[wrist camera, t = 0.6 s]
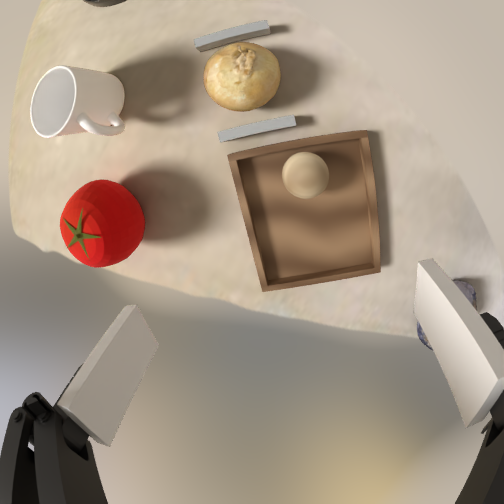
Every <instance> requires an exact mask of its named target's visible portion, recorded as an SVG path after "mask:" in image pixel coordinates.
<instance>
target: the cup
mask: <svg viewBox="0 0 504 504" xmlns="http://www.w3.org/2000/svg"><path fill="white" fill-rule="evenodd" d="M124 98H125V94H124V88H123V85H122V83H121V82H120V80H119V79H118V78H117V77H116V76H114V75H112V74H109V73H105V72H100V71H94V70H89V69H83V68H77V67H70V66H63V65H60V66H56V67H54V68H52V69H50V70H49V71H47V72H46V73H45V74H44V75H43V77H42V78H41V79H40V81H39V82H38V84H37V86H36V88H35V90H34V93H33V96H32V101H31V109H30V113H31V121H32V124H33V127H34V129H35V131H36V132H37V133H38V134H39V135H40V136H42V137H45V138H50V137H56V136H62V135H69V134H76V133H84V132H91V133H93V134H97V135H105V136H113V135H118V134H121V133H122V132H123V131H124V129H125V124H124V122H123V121H122V119H121V118H120V117H119V114H120V113H121V110H122V108H123V104H124ZM111 124H112V125H114V126H110V125H111Z"/></svg>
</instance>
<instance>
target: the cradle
mask: <svg viewBox="0 0 504 504" xmlns="http://www.w3.org/2000/svg"><path fill="white" fill-rule="evenodd" d="M267 34H270V28H269V25H268V22H267V20H264V21H259V22H254V23H250V24H245V25H241V26H237V27H233V28H229V29H226V30H222V31H219V32H215V33H212V34H209V35H205V36H202V37H199V38H196V39H194V43H195V47H196V48H197V49H198V50H199V51H200V52H202V51H205V50H208V49H211V48H215V47H218V46H222V45H225V44H229V43H232V42H236V41H240V40H244V39H249V38H253V37H258V36H262V35H267ZM292 126H296V122H295V117H294V115H290V116H285V117H279V118H274V119H270V120H265V121H260V122H256V123H251V124H247V125H243V126H239V127H235V128H231V129H227V130H223V131H220V132H217V133H218V136H219V140H220V142H225V141H228V140H232V139H236V138H240V137H245V136H249V135H253V134H258V133H262V132H267V131H272V130H277V129H282V128H287V127H292Z"/></svg>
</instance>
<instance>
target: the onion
mask: <svg viewBox="0 0 504 504" xmlns="http://www.w3.org/2000/svg"><path fill="white" fill-rule="evenodd" d="M280 79H281V73H280V68H279V63H278V60H277V58H276V57H275V56H274V55H273V54H272V53H271V52H270V51H269V50H267V49H266V48H264V47H262V46H260V45H257V44H254V43H249V42H239V43H233V44H230V45H228V46H225V47H223V48H222V49H220V50H218V51H217V52H216V53H214V54H213V55H212V56H211V58H210V59H209V60H208V62H207V64H206V66H205V70H204V85H205V88H206V91H207V93H208V94H209V96H210V97H211V98H212V99H213V100H214V101H215V102H216V103H217V104H218V105H220V106H222V107H224V108H226V109H229V110H233V111H250V110H253V109H256V108H258V107H261V106H263V105H264V104H266V103H267V102H268V101H269V100H270V99H271V98H272V97H273V96H274V95H275V94H276V92H277V89H278V86H279V83H280Z"/></svg>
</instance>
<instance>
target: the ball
mask: <svg viewBox="0 0 504 504" xmlns="http://www.w3.org/2000/svg"><path fill="white" fill-rule="evenodd" d="M282 180H283V183H284V185H285V187H286V189H287V190H288V191H289V192H290V193H291V194H293V195H294V196H296V197H299V198H303V199H309V198H314V197H316V196H318V195H320V194H321V193H322V192H323V191H324V190H325V188H326V187H327V185H328V181H329V170H328V167H327V165H326V163H325V162H324V161H323V159H322V158H320V157H319V156H318V155H316V154H314V153H310V152H300V153H296V154H294V155H292V156H291V157H290V158H289V159H288V160H287V161H286V162H285V164H284V166H283V169H282Z"/></svg>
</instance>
